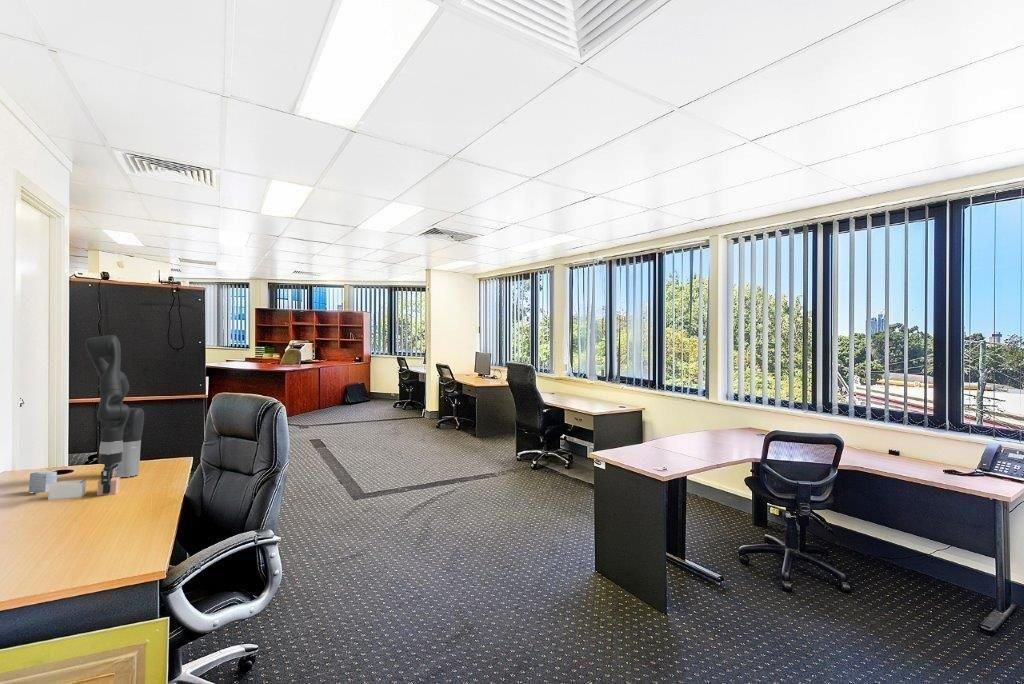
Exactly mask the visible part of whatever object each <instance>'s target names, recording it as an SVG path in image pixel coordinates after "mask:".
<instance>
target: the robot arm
mask: <svg viewBox="0 0 1024 684" xmlns="http://www.w3.org/2000/svg"><path fill="white" fill-rule="evenodd" d="M85 349H86V351H87V354H88V356H89V358H90V360H91V362H92V364H93V366H94V368H95V370H96V373H97V375H98V378H99V384H98V385H99V395H100V399H99V405H98V409H97V413H96V417H97V419H98V420H99V421H100V422H101V423H102V422H103V423H105V422H113V423H114V424H112V425H110V426H106V427H103V428H102V429H101V433H100V434H101V435H100V444H99V452H98V453H99V454H98V464H99V465H103V468H102V470H101V471H100V477H101V478H100V480H101V485H103V494H108V493H110V484H111V479H112V478H116V477H120V479H122V478H121V477H128V478H131V477H130V476H134V477H136V476H135V475H137V476H139V475H138V474H140V464H141V463H140V462H141V461H140V460H141V459H140V458H141V447H142V446H141V444H142V435H143V430H144V423H145V412H144V410H143V408H141V407H129V406H128V405H127V404H126V403H123V401H124V400H125V397H126V396H127V394H128V393H129V391H130V383H129V380H128V378H127V375H126V374H125V373H124V372H122V371H121V362H122V361H121V360H122V355H121V354H122V352H121V351H122V350H121V349H122V348H121V343H120V340H119V337H117V335H115V334H114V335H113V334H111V335H103V336H102V335H101V336H94V337H89V338H87V339H86V340H85ZM105 357H106V358H107V357H110V361H109V363H108V362H107V361H106V360H105V359H104V358H105ZM125 428H129V431H127V432H124V431H125V430H124V429H125ZM106 479H107V481H105V480H106Z"/></svg>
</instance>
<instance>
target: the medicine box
mask: <svg viewBox="0 0 1024 684" xmlns="http://www.w3.org/2000/svg"><path fill="white" fill-rule="evenodd" d="M57 477H58V471H51V470H49V471H48V470H40V471H39V470H38V471H35V472H34V471H33V472H31V473H30V475H29V483H28V484H29V485H28V486H29V487H28V488H29V489H28V493H29V492H33V493H38V494H39V493H41V492H42V493H46V492H49V485H50V484H52V483H54V482H58V478H57Z"/></svg>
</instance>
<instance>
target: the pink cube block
mask: <svg viewBox="0 0 1024 684" xmlns="http://www.w3.org/2000/svg"><path fill="white" fill-rule="evenodd" d="M120 479H121V478H120V477H117V478H112V479H111V484H110V493H108V494H103V485H101V479H99V480H98V481H97V488H96V489H97V491H96V496H98V497H99V496H109V495H116V494H117V493H118V492H119V491H120ZM105 481H107V479H106V480H105Z"/></svg>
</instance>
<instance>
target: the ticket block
mask: <svg viewBox="0 0 1024 684" xmlns="http://www.w3.org/2000/svg"><path fill="white" fill-rule="evenodd" d="M86 490H87V479H78V480H64V481H57V482H54V483H52V484H50V485H49V491H48V495H47V497H48V498H47V500H48V501H53V500H64V499H74V498H82V497H84V495H86V492H87V491H86Z"/></svg>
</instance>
